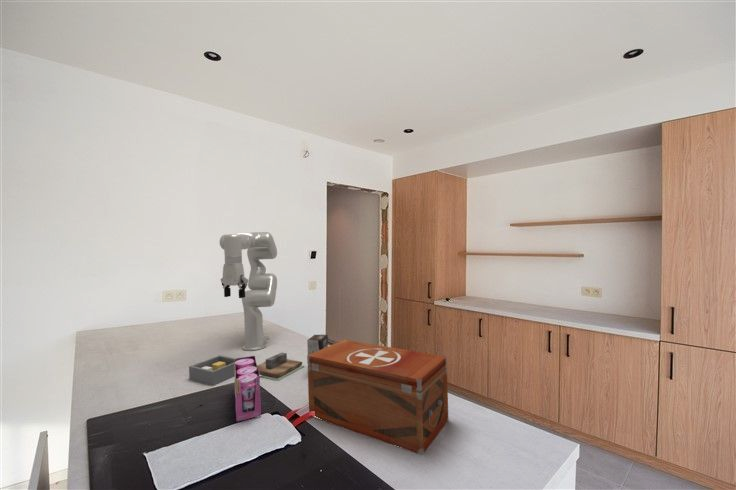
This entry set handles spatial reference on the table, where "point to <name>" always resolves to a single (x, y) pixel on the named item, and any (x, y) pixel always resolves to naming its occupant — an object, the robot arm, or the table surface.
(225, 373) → the storage box
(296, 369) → the sage mat
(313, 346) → the coffee box
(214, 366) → the ochre block
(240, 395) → the gum box
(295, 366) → the lid
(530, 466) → the table surface
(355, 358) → the wooden box
